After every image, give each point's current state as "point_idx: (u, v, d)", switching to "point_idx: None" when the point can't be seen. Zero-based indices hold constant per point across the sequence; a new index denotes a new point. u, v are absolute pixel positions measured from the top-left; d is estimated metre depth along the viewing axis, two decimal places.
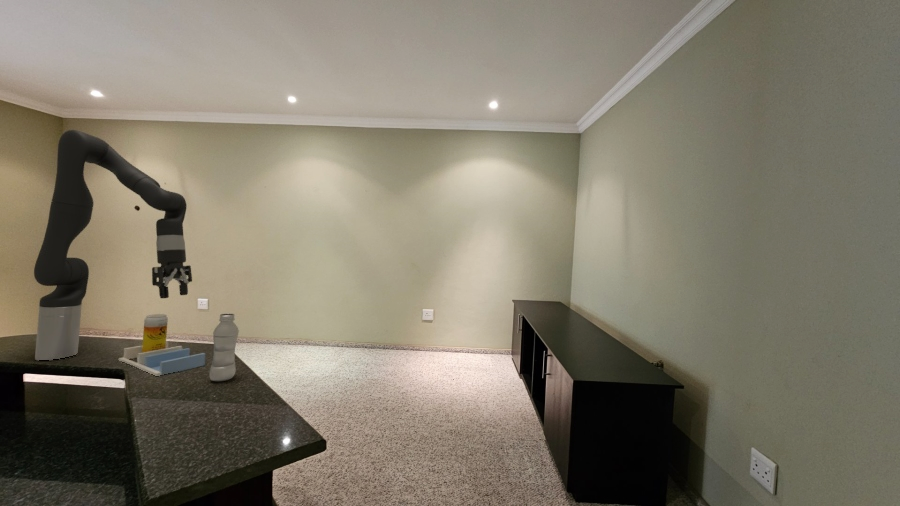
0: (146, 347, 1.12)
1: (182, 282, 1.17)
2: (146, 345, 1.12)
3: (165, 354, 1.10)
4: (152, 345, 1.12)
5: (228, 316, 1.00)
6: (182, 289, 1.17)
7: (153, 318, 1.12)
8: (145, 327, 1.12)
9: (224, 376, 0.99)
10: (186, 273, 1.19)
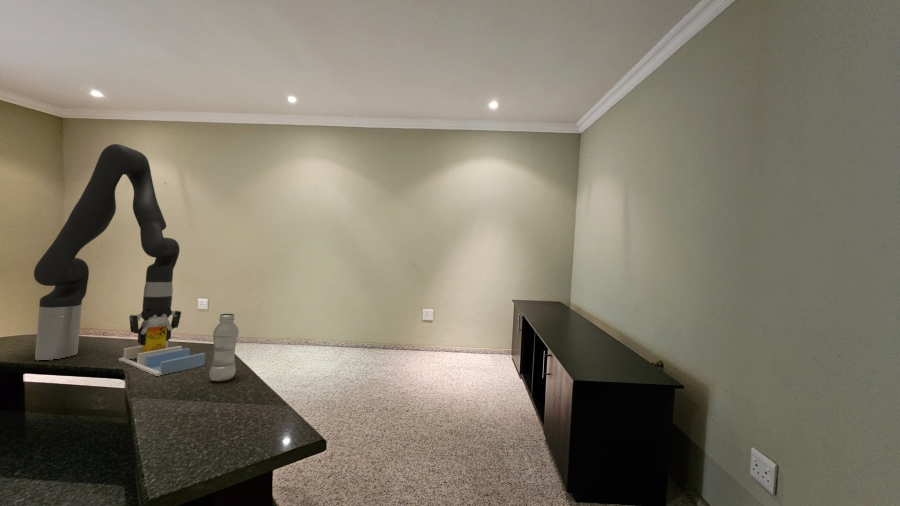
0: (146, 347, 1.12)
1: None
2: (146, 345, 1.12)
3: (165, 354, 1.10)
4: (152, 345, 1.12)
5: (228, 316, 1.00)
6: None
7: (153, 318, 1.12)
8: None
9: (224, 376, 0.99)
10: (174, 318, 1.20)
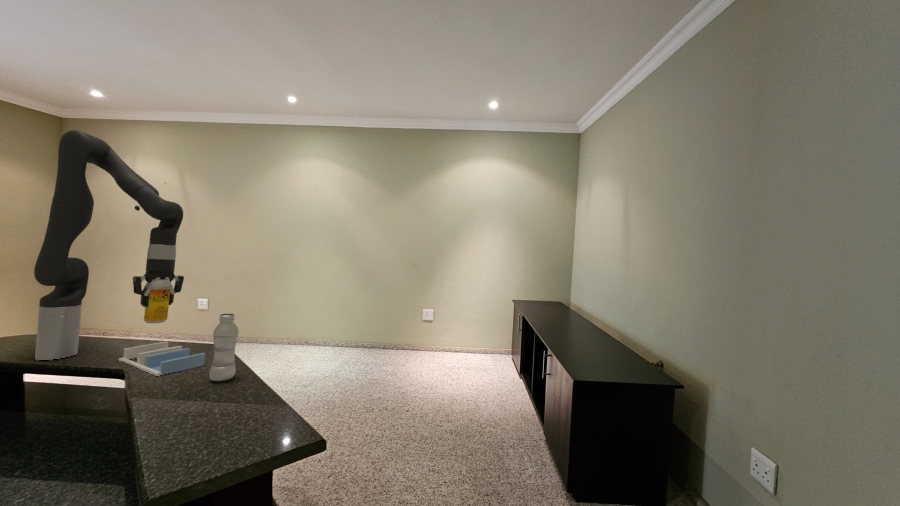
0: (148, 309, 1.12)
1: None
2: (149, 307, 1.12)
3: (165, 354, 1.10)
4: (155, 307, 1.12)
5: (228, 316, 1.00)
6: None
7: (156, 280, 1.13)
8: None
9: (224, 376, 0.99)
10: (177, 283, 1.20)
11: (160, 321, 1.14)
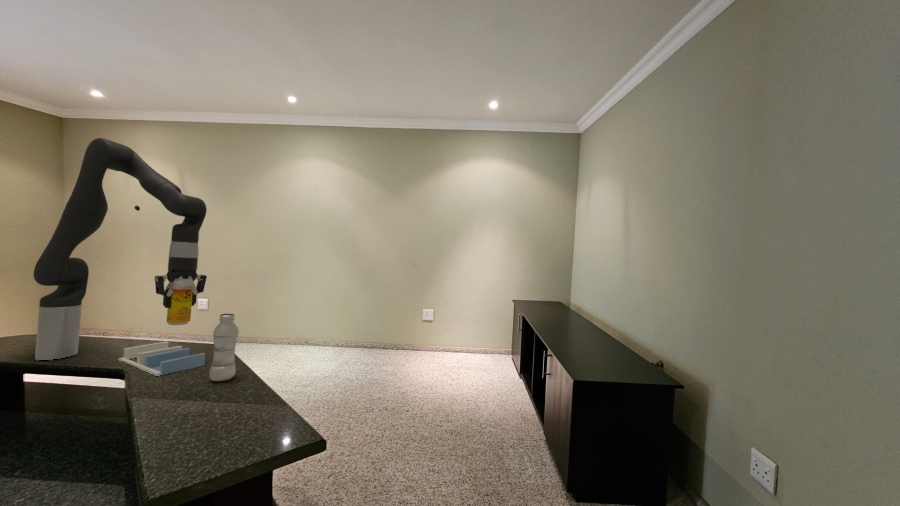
0: (171, 310, 1.06)
1: None
2: (172, 308, 1.06)
3: (165, 354, 1.10)
4: (178, 308, 1.06)
5: (228, 316, 1.00)
6: None
7: (179, 280, 1.07)
8: None
9: (224, 376, 0.99)
10: (200, 282, 1.14)
11: (183, 323, 1.08)
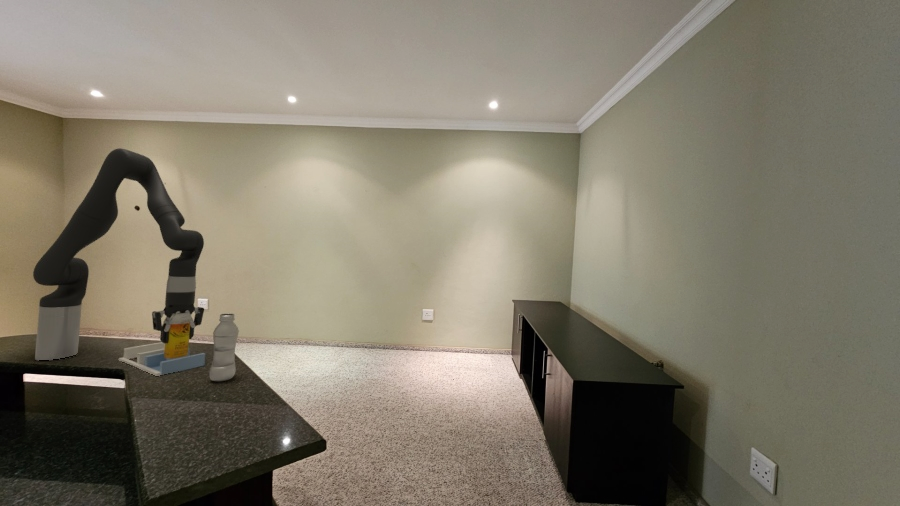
0: (169, 346, 1.06)
1: None
2: (169, 344, 1.06)
3: None
4: (175, 343, 1.06)
5: (228, 316, 1.00)
6: None
7: (176, 315, 1.07)
8: None
9: (224, 376, 0.99)
10: (197, 315, 1.14)
11: None
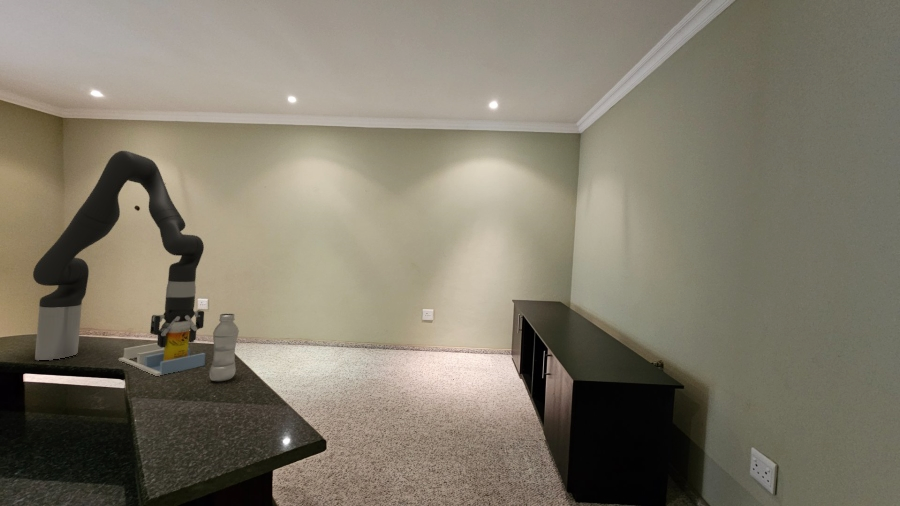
0: (168, 354, 1.06)
1: None
2: (168, 352, 1.06)
3: None
4: (174, 352, 1.06)
5: (228, 316, 1.00)
6: (190, 336, 1.12)
7: (175, 323, 1.06)
8: (167, 333, 1.06)
9: (224, 376, 0.99)
10: (198, 319, 1.14)
11: None
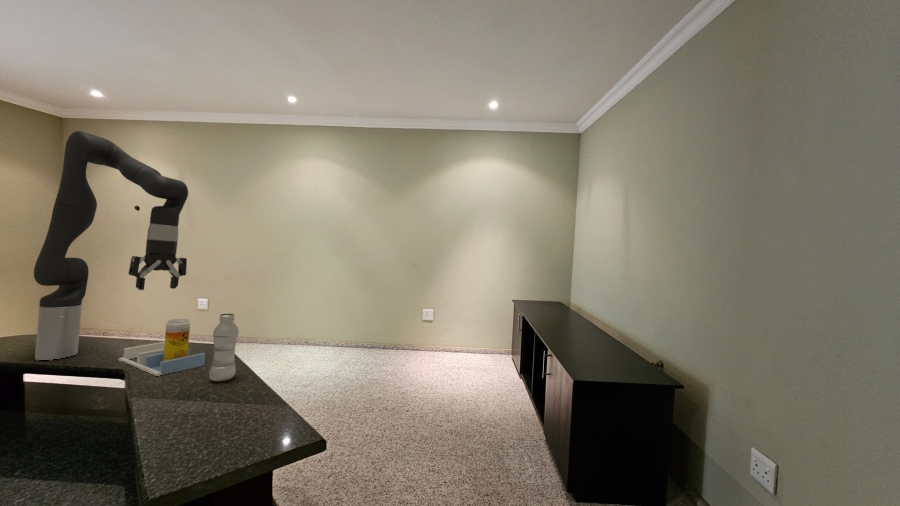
0: (168, 354, 1.06)
1: (173, 275, 1.11)
2: (168, 352, 1.06)
3: None
4: (174, 352, 1.06)
5: (228, 316, 1.00)
6: (172, 282, 1.10)
7: (175, 323, 1.07)
8: (167, 333, 1.06)
9: (224, 376, 0.99)
10: (180, 266, 1.12)
11: None
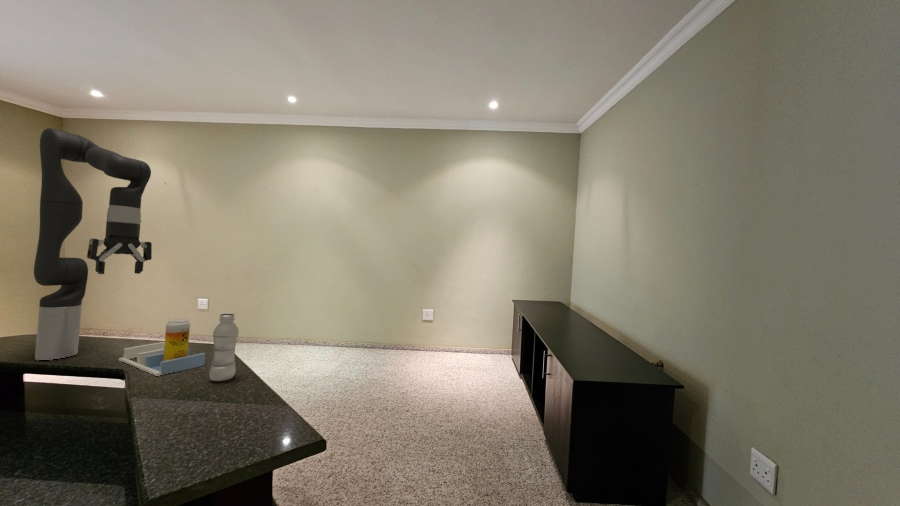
0: (168, 354, 1.06)
1: (137, 259, 1.07)
2: (168, 352, 1.06)
3: None
4: (174, 352, 1.06)
5: (228, 316, 1.00)
6: (136, 267, 1.06)
7: (175, 323, 1.07)
8: (167, 333, 1.06)
9: (224, 376, 0.99)
10: (145, 250, 1.08)
11: None
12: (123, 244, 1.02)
